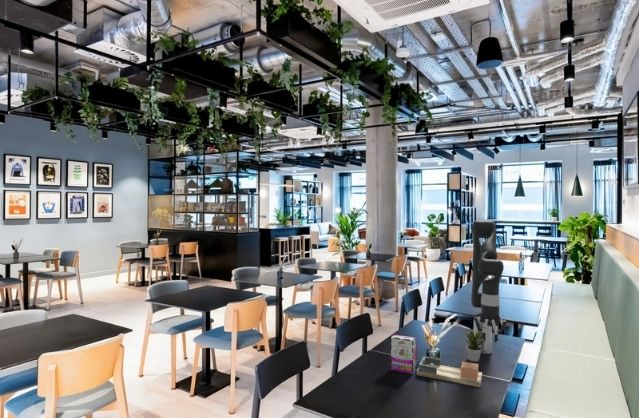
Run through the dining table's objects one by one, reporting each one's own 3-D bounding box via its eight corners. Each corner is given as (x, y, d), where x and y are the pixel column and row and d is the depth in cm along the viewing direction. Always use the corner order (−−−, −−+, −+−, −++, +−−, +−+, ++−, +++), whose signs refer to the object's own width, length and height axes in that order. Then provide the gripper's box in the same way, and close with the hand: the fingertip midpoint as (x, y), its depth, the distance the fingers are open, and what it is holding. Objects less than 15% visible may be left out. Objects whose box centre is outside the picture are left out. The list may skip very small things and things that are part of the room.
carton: (462, 371, 188) (462, 361, 188) (478, 373, 185) (478, 364, 185) (460, 376, 181) (460, 367, 181) (477, 379, 178) (477, 369, 178)
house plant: (484, 368, 196) (484, 335, 195) (456, 361, 204) (456, 330, 204) (491, 359, 207) (492, 328, 207) (464, 353, 215) (465, 323, 215)
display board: (421, 365, 198) (421, 355, 198) (482, 376, 186) (482, 366, 186) (416, 374, 188) (416, 364, 188) (480, 387, 175) (480, 375, 175)
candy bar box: (415, 371, 192) (416, 337, 192) (413, 374, 188) (413, 340, 188) (393, 366, 197) (393, 333, 197) (390, 370, 193) (390, 336, 193)
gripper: (507, 303, 179) (507, 341, 179) (474, 300, 185) (473, 336, 186) (507, 307, 172) (507, 346, 173) (472, 303, 179) (472, 341, 179)
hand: (489, 341), depth 179 cm, fingers open, 3 cm apart
